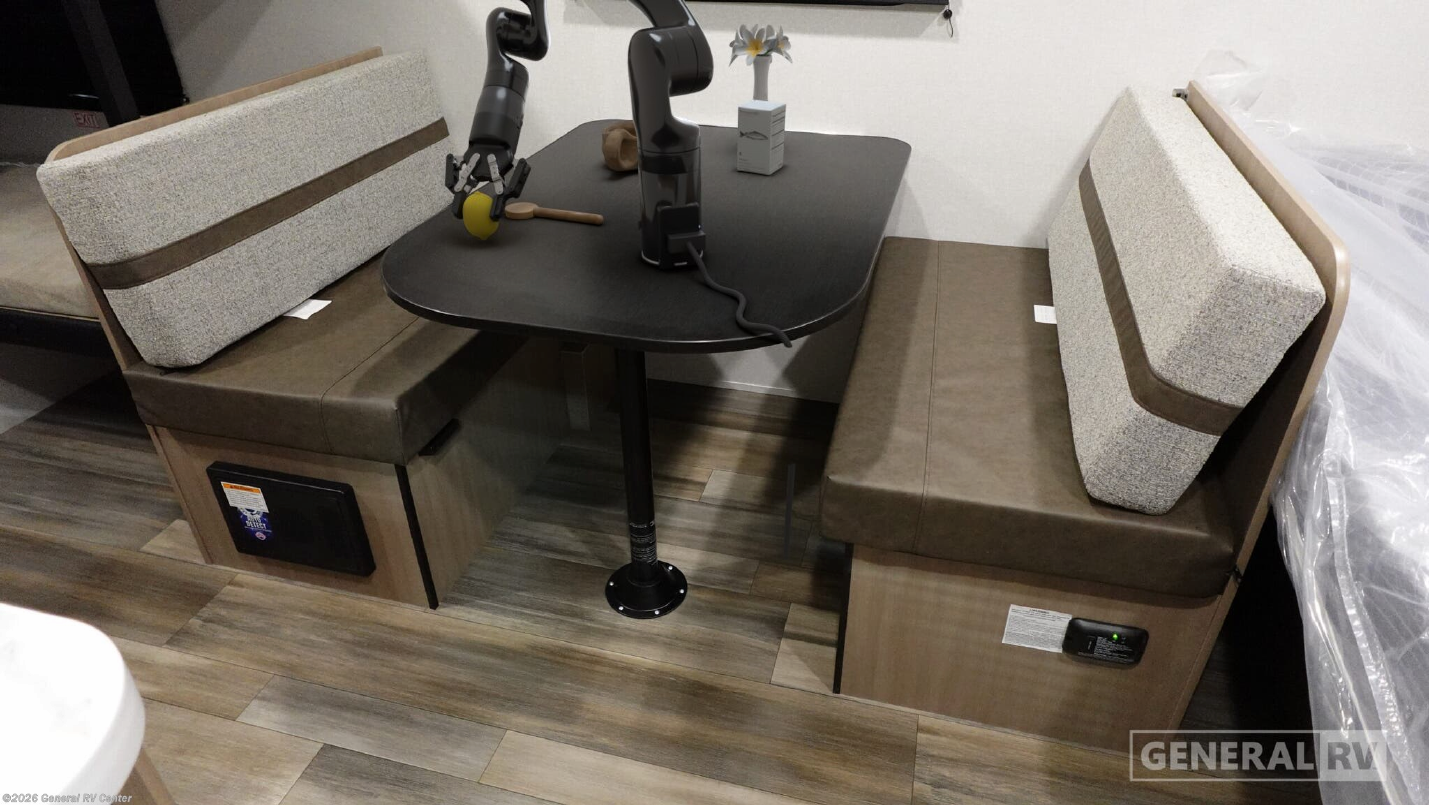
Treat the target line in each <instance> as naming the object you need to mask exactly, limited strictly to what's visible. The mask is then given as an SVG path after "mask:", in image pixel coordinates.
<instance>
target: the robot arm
mask: <svg viewBox="0 0 1429 805" xmlns="http://www.w3.org/2000/svg"><path fill="white" fill-rule="evenodd" d="M519 1H520V2H521V3H523V4H524V5H525V6H526V7H527V8H528V10H529V13H527V12H524V11H519V10H516V9H513V8H509V7H504V6H497V7H495V8H493V9H492V10H491V11H490V12H489V14H488V15H487V17H486V21H485V38H486V50H487V65H486V71H485V76H484V80H483V85H482V89H481V92H480V95H479V98H478V100H477V103H476V107H475V111H474V116H473V119H472V124H471V127H470V133H469V136H468V144H467V145H468V146H467V149H466V150H465V152H464V153H463V155H454V154H453V153H448V154H447V155H446V156H445V174H444V186H445V187H446V189H447V190H448V191H449V192H450V193H451V194H452V195H453V199H452V204H451V213H452V214H453V215H454V217H455V218H456V219H457V220H463V205H464V202H465V200H466V199H467V198H468V197H469V196H470V195H471V192H472V191H473V189H476V188H477V187H478V186H479V184H480V183H486V182H489V183H491V184H493V185H494V189H495V194H493V196H492V200H493V201H492V205H491V210H490V214H489V216H490V218H491V220H492V221H493V222H499V223H500V220H501V219H502V218H503V217H504V214H505V208H506V206H507V201H509V200H510V199H516V200H517V199H519V198H520V197H521V195H522V192H523V190H524V188H525V185H526V182H527V180H528V178H529V175H530V173H531V170H532V167H531V165H530V163H529V162H528V160H526V158H524V157H521V158H519V159H518V158H515V156H516V154H517V149H518V146H519V140H520V136H521V132H522V128H523V125H524V116H525V106H526V101H527V97H528V94H529V93H528V92H529V88H530V83H531V74H530V71H529V70H528V68H527V67H526V66H525V65H524V64H523V63H521V62H520V61H518V60H517V59H514V58H513V57H515V58H519V59H523V60H527V61H531V62H539V61H542V60H543V59H544V58H545V57H546V56H547V55H548V53H549V51H550V47H551V30H550V23H549V14H548V2H547V0H519ZM626 1H627V2H628V3H630V4H631V5H632V6H633V7H635V8H636V9H637V10H638V11H639V12H640V13H641V14H642V15H643V16H644V17H645V18H646V19H647V21H648V22H649V23H650V25H651V27H644V28H641V29H638V30H636V31H634V33H633V34H632V35H631V37H630V40H629V41H628V47H627V56H626V57H627V58H626V60H627V78H628V87H629V96H630V106H631V117H632V120H633V124H634V128H635V131H636V135H637V149H638V169H637V170H638V171H637V172H638V191H639V208H640V209H639V211H640V220H638V221H637V230H638V231H640V233H641V259H642V260H643V261H644V263H646V264H648V265H651V266H655V267H658V268H659V269H661V270H668V269H676V268H677V269H678V268H685V267H692V266H697V267H698V270H699V273H700V275H701V278H702V280H703V281H704V283H706V285H707V286H708V287H709V288H711V289H712V290H714V291H716V292H719V293H721V294H724V295H727V296H730V297H734V298H735V299H736V300H738V302H739V303H738V307H737V309H736V312H735V319H736V322H737V323H738V324H739V326H741V327H742V328H744V329H746V330H749V331H757V332H765V333H770V334H772V335H774V336H776V337H777V338H778V339H779V340H780V341H781V342H782V344H783V346H784V347H785V348H787V349H791V348H793V343H792V342H791V340H790V338H789V337H788V336H787V334H786V333H785V332H784V331H783V330H781V329H780V328H779V327H776V326H774V325H771V324H767V323H758V322H751V321H748V320H746V319H745V318H744V312H745V310H746V307H747V300H746V297H745V295H744V294H743V293H741V292H740V291H738V290H736V289H734V288H730V287H726V286H722V285H720V284H718V283H716V282H715V281H714V280H713V279H712V278H711V277H710V275H709V273H708V270H707V268H706V266H705V263H704V261H703V260H702V259H703V256H704V252H703V250H706V249H707V247H706V246H707V240H706V238H707V237H706V233H704V231H703V229H702V228H703V227H702V226H703V225H702V224H703V222H702V221H703V220H702V218H703V217H702V215H703V214H702V133H701V132H702V131H701V128H700V126H699V125H698V123H697V122H695V121H693V120H689V119H687V118H684V117H678V116H676V115H674V114H673V112H672V106H671V98H674V97H679V96H687V95H692V94H696V93H699V92H703V91H704V90H706V89H707V88H708V87H709V86H710V84H711V83H712V82H713V81H712V80H713V78H714V75H715V74H714V72H715V62H714V57H713V52H712V48H711V45H710V43H709V40H708V38H707V36H706V34H705V31H704V30H703V28H702V27H701V25H700V23H699V21H698V20H697V19H696V17H695V16H694V14H693V13H692V11H691V10H690V8H689V6H688V5H687V3H686V2H685V0H626ZM510 56H512V57H510ZM464 165H465V168H464V169H463V166H464ZM512 169H513V173H512V175H511V178H510V180H509V182H507V177H506V175H507V174H508V173H509V172H510V171H512ZM460 171H461V174H460ZM471 177H472V178H471ZM795 474H796V463H791V464H788V466H787V483H786V484H787V485H786V498H785V514H784V527H783V528H784V529H783V548H782V549H783V551H782V558H783V559H784V560H788V559H790V556H791V535H792V534H791V533H792V532H791V531H792V519H793V518H792V516H793V505H794V503H793V501H794V488H795V476H796V475H795Z"/></svg>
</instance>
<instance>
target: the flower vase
mask: <svg viewBox="0 0 1429 805" xmlns="http://www.w3.org/2000/svg"><path fill="white" fill-rule="evenodd" d="M735 29H736V30H735V35H734V39H733V40H732V41H730V42H729V45H728V46H729V48H732V49H731V56H730V62H729V65H728V67H731V65H732V64H733V63H734V62H735V60H736V59H737V58H738V57H741V56H746V57H745V64H746V66H747V67H749V66H751V65H752V71H753V88H752V100H761V101H769V71H770V66H771V64H772V63H773V55H772V54H773V53H775V54H778V55H780V56H782V57H783V58H784V59H786V60H788V62H789V63H791V64H793V59H792V56H791V55H790V54H789V52H787V51H789V50H791V48H792V44H791V42H790V41H789V39H790V38H789V37H788V36H787V35H784V29H783V26H782V25H781V24H780V25H779V28H778V31H776V33H775V29H774V27H773V26H772V24H767V25H766V26H761V27H760V28H759V24H758V23H755V24H754V25H753V26H752V27H751V28H750V30H749V29H748V27H747V25H746V24H744V23H742V24H741V25H740V26H739V30H738V27H736V28H735Z"/></svg>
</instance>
